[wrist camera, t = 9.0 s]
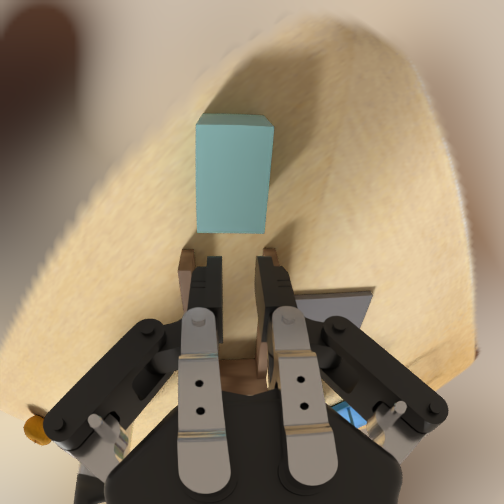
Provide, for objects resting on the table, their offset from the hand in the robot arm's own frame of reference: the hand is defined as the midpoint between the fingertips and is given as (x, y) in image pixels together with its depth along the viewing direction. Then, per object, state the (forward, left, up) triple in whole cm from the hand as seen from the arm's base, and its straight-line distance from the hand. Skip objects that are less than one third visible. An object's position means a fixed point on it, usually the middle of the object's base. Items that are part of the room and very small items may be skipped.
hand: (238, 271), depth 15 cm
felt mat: (+12, -19, -13) cm, 26 cm away
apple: (-55, -63, -13) cm, 85 cm away
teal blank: (0, +2, -13) cm, 13 cm away
